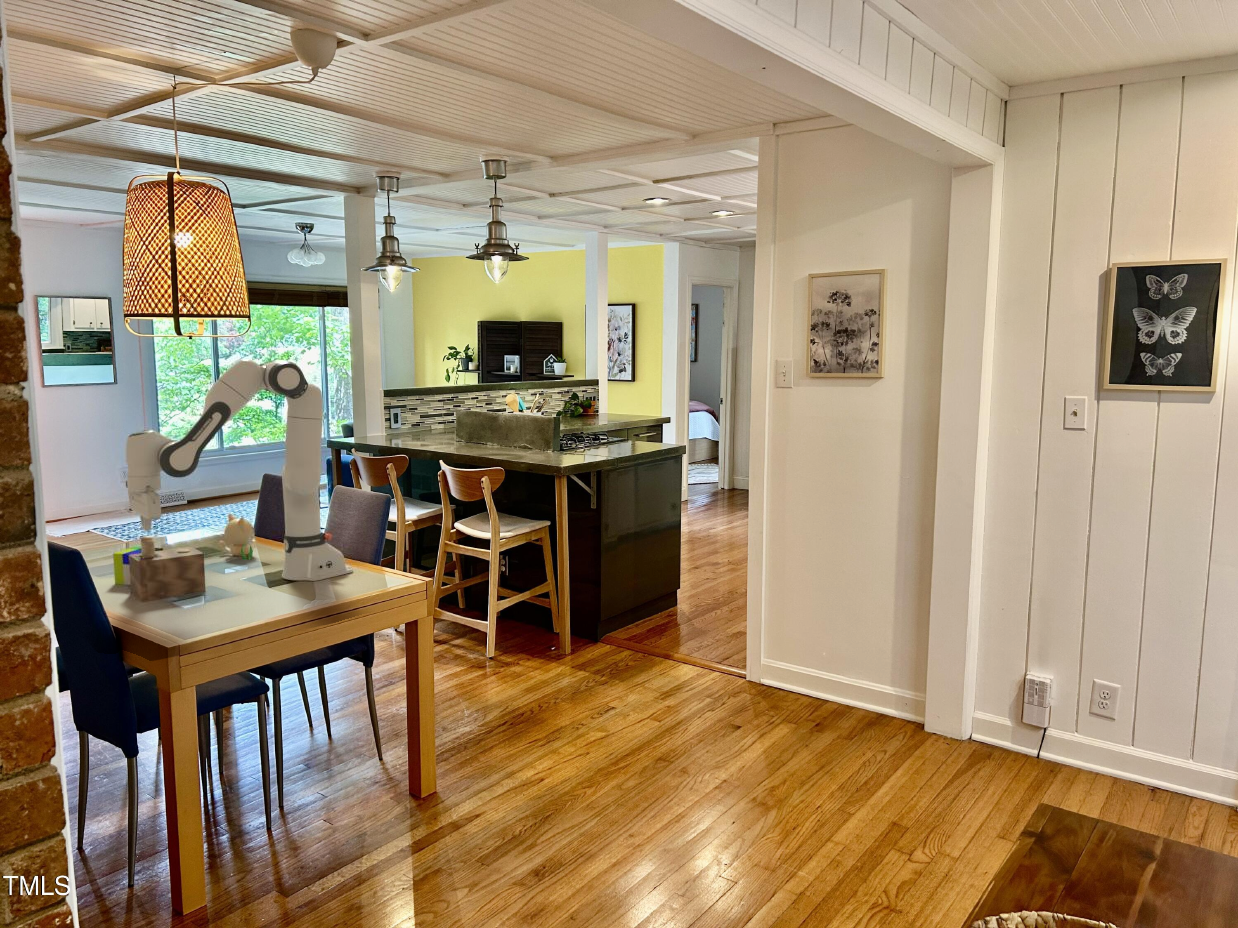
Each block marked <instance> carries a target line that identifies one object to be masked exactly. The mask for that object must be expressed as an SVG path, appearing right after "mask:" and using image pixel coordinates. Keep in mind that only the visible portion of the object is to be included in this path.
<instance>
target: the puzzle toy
mask: <svg viewBox="0 0 1238 928" xmlns="http://www.w3.org/2000/svg"><path fill="white" fill-rule="evenodd" d="M162 550H164V548H163V547H155V551H162ZM140 553H141V546H133V547H131V548H127V549H124V550H120V551H116V552H114V553H112V554H113V555H112V558H113V571H114V572H113V573H114V584H116V585H127V586H131V585H130V569H129V555H132V554H140Z"/></svg>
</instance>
